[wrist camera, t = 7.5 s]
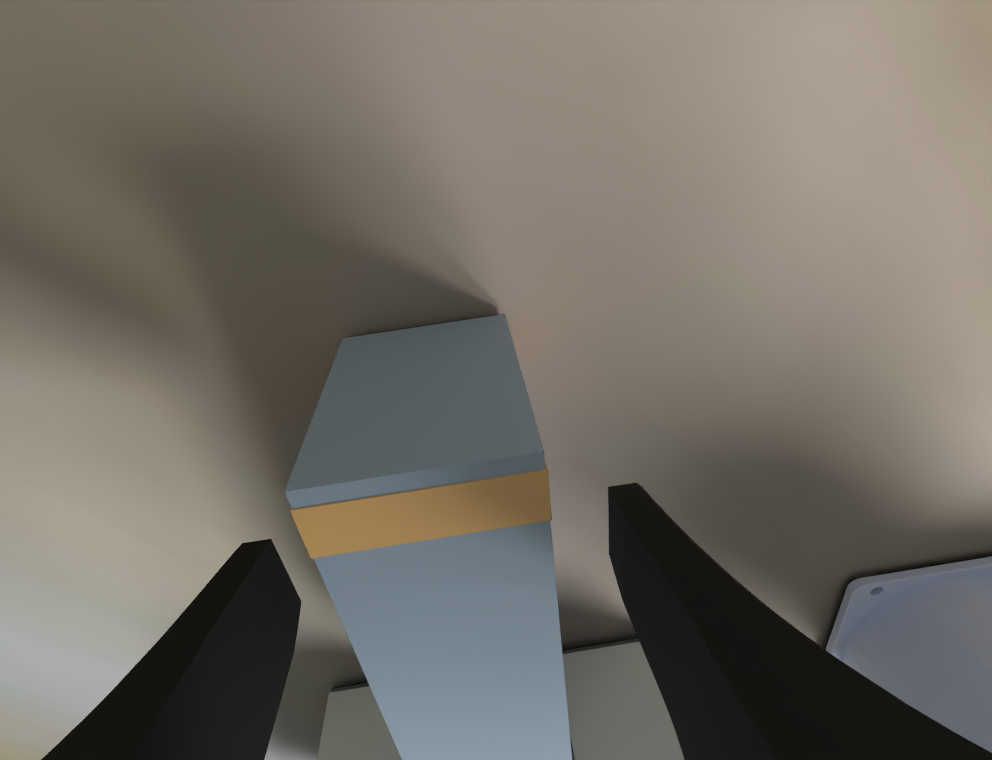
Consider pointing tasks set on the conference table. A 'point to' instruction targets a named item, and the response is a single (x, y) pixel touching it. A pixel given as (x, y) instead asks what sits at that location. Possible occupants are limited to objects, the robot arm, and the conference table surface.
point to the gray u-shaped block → (590, 702)
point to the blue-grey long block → (439, 539)
